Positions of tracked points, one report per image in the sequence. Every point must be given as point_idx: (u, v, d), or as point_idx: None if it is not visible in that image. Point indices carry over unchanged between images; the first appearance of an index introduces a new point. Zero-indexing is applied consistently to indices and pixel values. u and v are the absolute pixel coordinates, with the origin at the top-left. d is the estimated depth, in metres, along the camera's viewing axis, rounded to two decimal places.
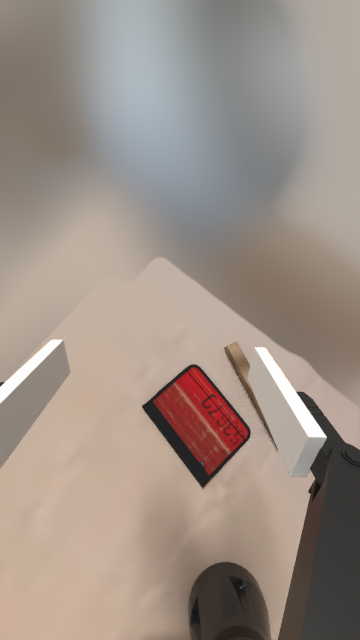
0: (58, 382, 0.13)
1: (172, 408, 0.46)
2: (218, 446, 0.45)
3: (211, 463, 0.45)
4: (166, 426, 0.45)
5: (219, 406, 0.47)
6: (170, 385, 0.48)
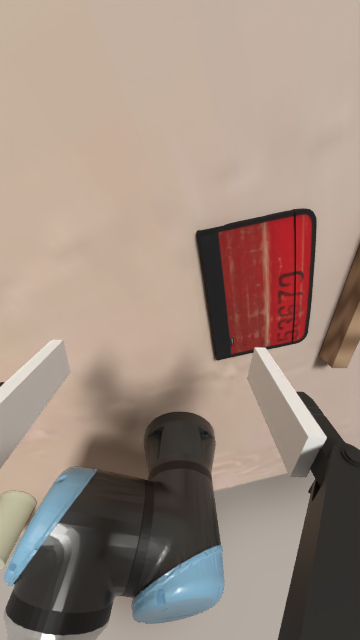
0: (58, 382, 0.13)
1: (239, 259, 0.29)
2: (261, 333, 0.34)
3: (241, 345, 0.35)
4: (216, 278, 0.30)
5: (297, 292, 0.31)
6: (257, 223, 0.27)
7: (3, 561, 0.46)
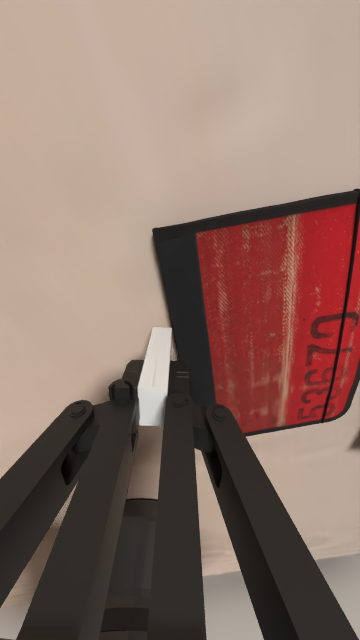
0: None
1: (237, 288, 0.14)
2: (272, 409, 0.20)
3: None
4: (193, 322, 0.15)
5: (343, 347, 0.17)
6: (278, 216, 0.13)
7: None
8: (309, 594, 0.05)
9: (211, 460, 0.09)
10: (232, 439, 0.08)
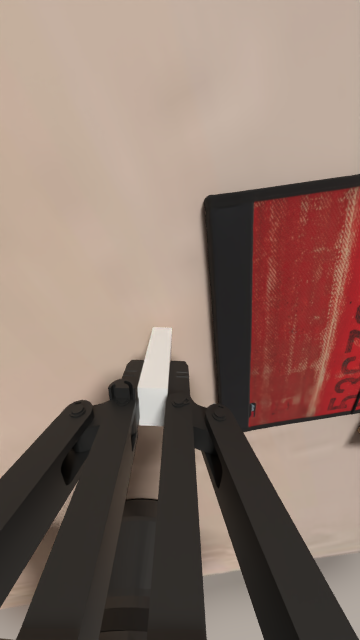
0: None
1: (288, 265, 0.14)
2: (304, 398, 0.19)
3: (267, 414, 0.20)
4: (238, 301, 0.15)
5: None
6: (340, 188, 0.12)
7: None
8: (309, 594, 0.05)
9: (211, 460, 0.09)
10: (232, 439, 0.08)
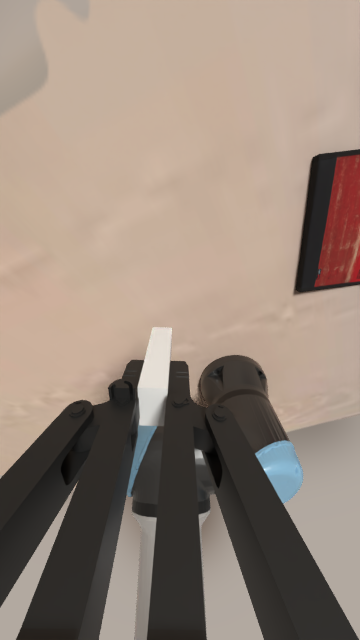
0: None
1: (347, 187, 0.32)
2: (345, 268, 0.37)
3: (325, 278, 0.38)
4: (323, 205, 0.32)
5: None
6: None
7: None
8: (309, 594, 0.05)
9: (211, 460, 0.09)
10: (232, 439, 0.08)
